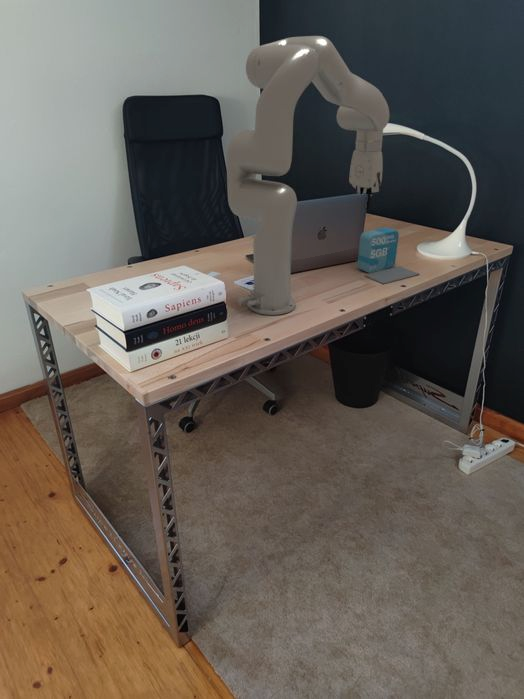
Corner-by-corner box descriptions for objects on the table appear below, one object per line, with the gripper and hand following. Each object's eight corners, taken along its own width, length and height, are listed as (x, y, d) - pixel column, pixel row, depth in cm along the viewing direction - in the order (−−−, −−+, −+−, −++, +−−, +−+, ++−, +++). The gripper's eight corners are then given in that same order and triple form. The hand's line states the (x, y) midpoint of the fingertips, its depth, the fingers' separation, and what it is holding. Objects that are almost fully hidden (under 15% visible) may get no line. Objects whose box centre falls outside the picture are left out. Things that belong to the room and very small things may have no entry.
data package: (366, 274, 155) (370, 235, 150) (356, 269, 159) (360, 232, 153) (395, 267, 161) (399, 229, 155) (384, 263, 164) (389, 226, 159)
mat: (383, 284, 148) (383, 283, 147) (364, 276, 154) (364, 275, 153) (419, 274, 155) (419, 273, 154) (400, 267, 161) (400, 266, 160)
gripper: (342, 144, 153) (338, 206, 162) (377, 150, 142) (371, 215, 151) (361, 142, 157) (356, 202, 166) (396, 148, 146) (389, 212, 155)
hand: (363, 208), depth 158 cm, fingers closed
